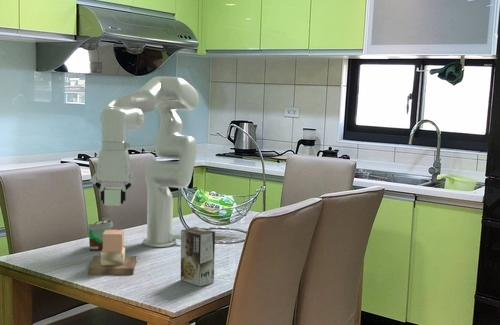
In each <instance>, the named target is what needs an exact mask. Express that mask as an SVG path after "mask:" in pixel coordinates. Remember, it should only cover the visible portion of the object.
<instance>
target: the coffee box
mask: <svg viewBox="0 0 500 325" xmlns="http://www.w3.org/2000/svg"><path fill="white" fill-rule="evenodd" d="M180 234H181V239H180V281H182V282H186V283H189V284H191V285H194V286H197V287H203V286H206V285H210V284H213V283H214V282H215V251H216V250H215V248H216V247H215V246H216V241H215V240H216V231H214V230H210V229H205V228H201V227H197V226H193V227H189V228H186V229H181V230H180Z"/></svg>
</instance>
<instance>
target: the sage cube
mask: <svg viewBox="0 0 500 325" xmlns="http://www.w3.org/2000/svg"><path fill="white" fill-rule="evenodd" d="M121 190H122V188H121V187H113V186H111V187H108V186H107V187H106V186H105V190H104V204H103V205H104V206H110V207H111V206H118V207H120V206H122V204H121Z"/></svg>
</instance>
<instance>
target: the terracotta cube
mask: <svg viewBox="0 0 500 325" xmlns="http://www.w3.org/2000/svg"><path fill="white" fill-rule="evenodd" d="M124 234H125V231H124V229H111V230H105V231H104V233H103V252H122V251H123V248H124V247H125V245H124V244H125V242H124V241H125V238H124V236H125V235H124Z"/></svg>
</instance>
